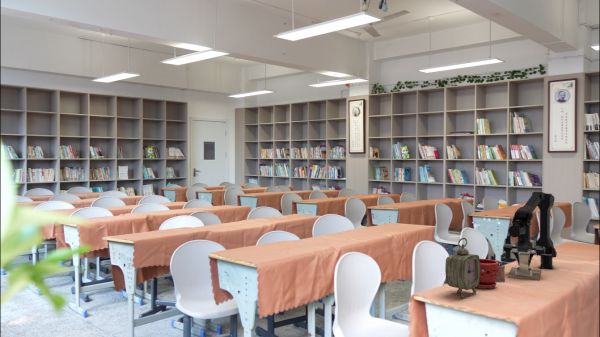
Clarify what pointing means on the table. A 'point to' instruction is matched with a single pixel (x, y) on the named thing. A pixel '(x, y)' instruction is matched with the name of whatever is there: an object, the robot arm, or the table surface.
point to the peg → (523, 261)
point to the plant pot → (488, 273)
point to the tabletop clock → (463, 270)
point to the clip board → (524, 274)
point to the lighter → (500, 272)
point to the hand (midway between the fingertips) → (524, 265)
